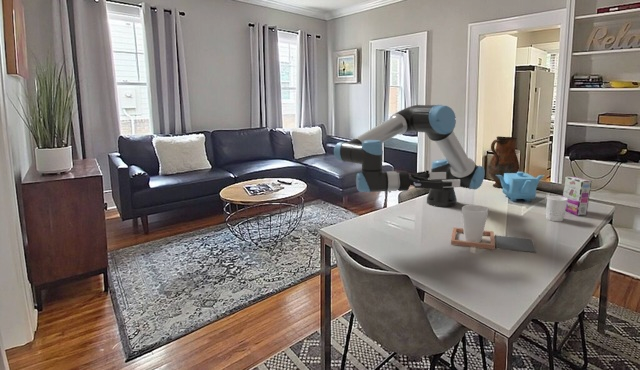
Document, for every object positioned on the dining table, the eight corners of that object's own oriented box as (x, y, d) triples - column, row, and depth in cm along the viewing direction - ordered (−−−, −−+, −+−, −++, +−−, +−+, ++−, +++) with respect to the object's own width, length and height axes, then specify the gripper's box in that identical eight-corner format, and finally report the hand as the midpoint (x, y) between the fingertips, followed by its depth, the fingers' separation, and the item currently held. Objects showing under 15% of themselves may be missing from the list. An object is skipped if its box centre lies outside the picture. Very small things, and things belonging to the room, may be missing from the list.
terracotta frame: (450, 244, 149) (451, 240, 148) (453, 230, 162) (453, 227, 162) (494, 249, 143) (494, 245, 143) (493, 235, 157) (493, 231, 156)
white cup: (567, 222, 169) (570, 200, 167) (548, 221, 171) (550, 200, 168) (560, 216, 176) (563, 195, 174) (541, 216, 178) (544, 195, 176)
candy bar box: (587, 215, 177) (592, 181, 173) (577, 216, 177) (582, 181, 173) (570, 208, 188) (574, 175, 184) (560, 209, 188) (564, 176, 184)
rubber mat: (496, 248, 144) (496, 247, 144) (495, 236, 155) (495, 235, 155) (536, 252, 139) (536, 251, 139) (531, 240, 151) (531, 239, 151)
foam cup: (463, 233, 159) (465, 203, 156) (487, 237, 154) (490, 206, 151) (457, 241, 151) (459, 209, 148) (482, 245, 146) (484, 213, 143)
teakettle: (509, 192, 219) (511, 167, 216) (544, 199, 205) (547, 172, 201) (492, 198, 208) (494, 172, 205) (527, 206, 194) (530, 177, 190)
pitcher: (523, 186, 230) (528, 136, 223) (501, 192, 220) (506, 140, 213) (498, 181, 244) (502, 134, 237) (476, 186, 234) (480, 137, 227)
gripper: (389, 183, 158) (440, 181, 159) (406, 199, 134) (465, 197, 135) (389, 165, 156) (441, 163, 158) (406, 178, 132) (467, 176, 133)
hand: (452, 179), depth 146 cm, fingers open, 13 cm apart
